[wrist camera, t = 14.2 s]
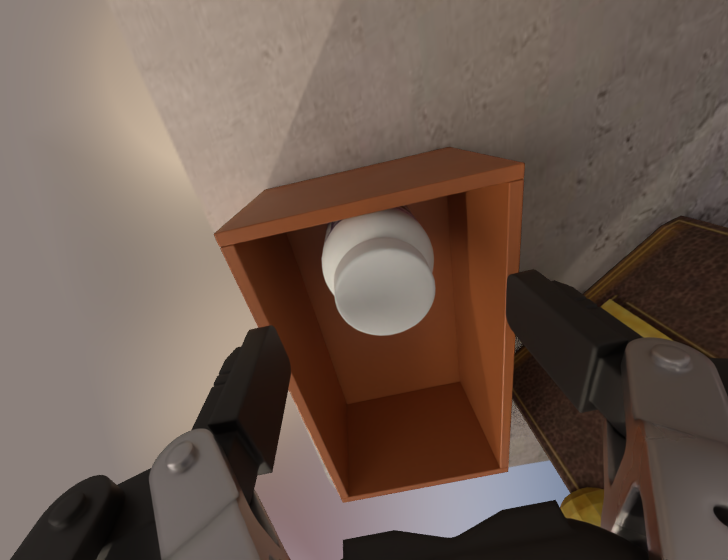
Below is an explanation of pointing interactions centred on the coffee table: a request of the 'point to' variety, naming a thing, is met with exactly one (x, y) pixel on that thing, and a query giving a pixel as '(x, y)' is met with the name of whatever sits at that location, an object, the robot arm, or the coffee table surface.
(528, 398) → the book
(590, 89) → the coffee table surface
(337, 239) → the pill bottle
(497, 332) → the orange open bin
